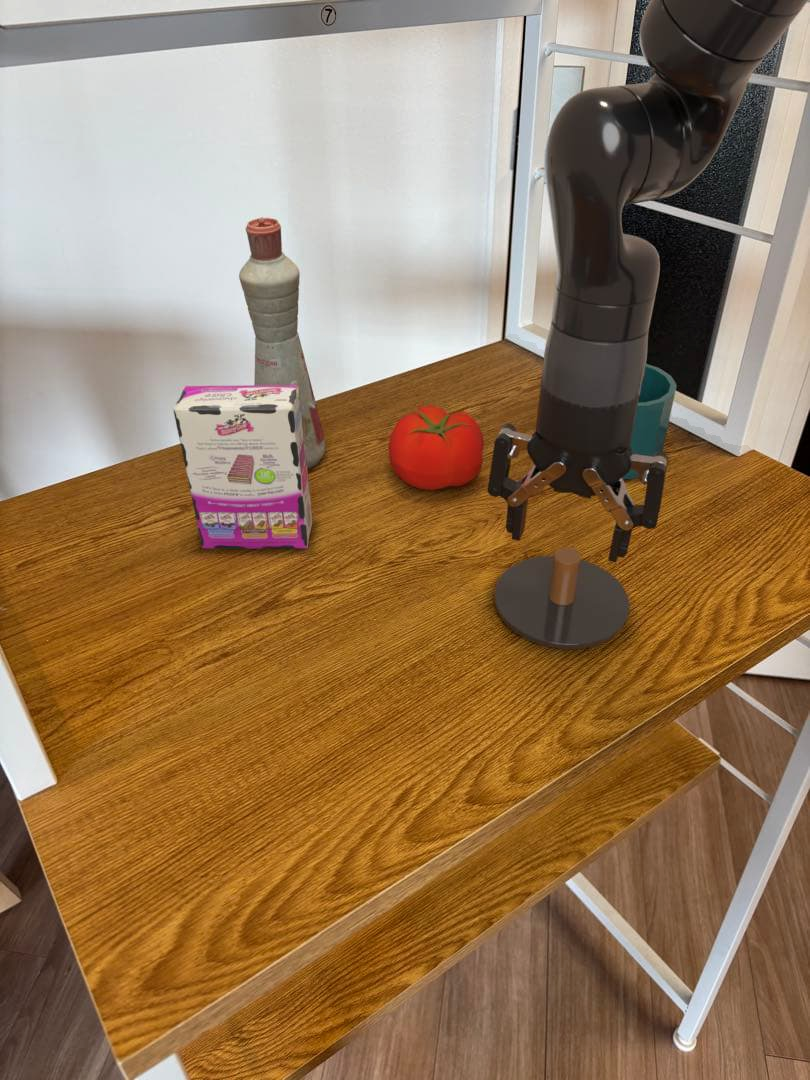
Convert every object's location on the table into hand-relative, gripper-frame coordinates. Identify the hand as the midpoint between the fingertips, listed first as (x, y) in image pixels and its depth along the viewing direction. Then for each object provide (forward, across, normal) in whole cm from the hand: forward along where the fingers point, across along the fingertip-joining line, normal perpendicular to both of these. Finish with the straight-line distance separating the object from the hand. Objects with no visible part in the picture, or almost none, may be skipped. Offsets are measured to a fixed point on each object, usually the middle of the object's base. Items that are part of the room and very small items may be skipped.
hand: (565, 545), depth 73 cm
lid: (+7, 0, 0) cm, 7 cm away
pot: (+7, +1, +29) cm, 30 cm away
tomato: (+8, -18, +17) cm, 26 cm away
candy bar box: (+8, -32, 0) cm, 33 cm away
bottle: (+8, -36, +16) cm, 40 cm away
